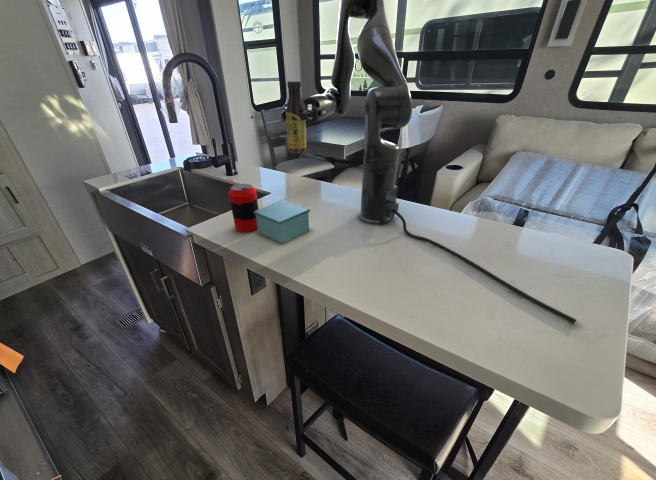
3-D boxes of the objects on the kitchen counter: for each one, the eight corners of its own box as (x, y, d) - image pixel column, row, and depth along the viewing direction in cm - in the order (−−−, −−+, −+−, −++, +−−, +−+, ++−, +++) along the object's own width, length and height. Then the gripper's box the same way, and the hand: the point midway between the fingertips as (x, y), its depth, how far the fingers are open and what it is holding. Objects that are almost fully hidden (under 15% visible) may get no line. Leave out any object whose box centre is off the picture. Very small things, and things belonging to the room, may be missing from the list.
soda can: (242, 235, 88) (234, 193, 81) (231, 226, 93) (223, 186, 86) (265, 227, 92) (260, 187, 84) (253, 219, 97) (247, 180, 89)
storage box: (310, 230, 89) (309, 209, 85) (281, 244, 83) (279, 222, 79) (285, 220, 95) (283, 199, 92) (256, 232, 89) (253, 211, 86)
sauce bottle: (284, 152, 104) (277, 81, 92) (298, 148, 107) (294, 79, 95) (297, 155, 100) (291, 81, 88) (311, 151, 103) (308, 79, 91)
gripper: (297, 94, 107) (271, 101, 96) (335, 95, 102) (312, 102, 90) (299, 119, 112) (273, 128, 100) (335, 121, 106) (313, 130, 95)
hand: (292, 115), depth 95 cm, fingers closed on sauce bottle, 6 cm apart
